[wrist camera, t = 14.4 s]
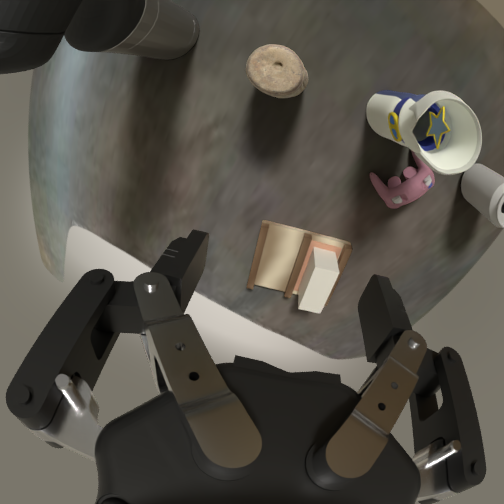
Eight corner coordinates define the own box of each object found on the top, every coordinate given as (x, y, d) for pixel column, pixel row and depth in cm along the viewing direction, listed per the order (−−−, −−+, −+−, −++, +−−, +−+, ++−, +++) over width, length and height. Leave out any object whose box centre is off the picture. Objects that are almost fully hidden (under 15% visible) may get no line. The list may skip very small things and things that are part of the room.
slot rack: (248, 279, 54) (246, 287, 52) (262, 219, 47) (261, 226, 45) (325, 297, 54) (326, 306, 52) (350, 242, 47) (352, 249, 45)
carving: (265, 49, 33) (254, 32, 23) (314, 68, 33) (321, 58, 23) (248, 85, 36) (232, 82, 26) (296, 104, 37) (298, 108, 27)
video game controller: (374, 189, 43) (393, 219, 39) (364, 172, 40) (385, 203, 36) (420, 160, 39) (443, 188, 35) (414, 141, 36) (439, 169, 32)
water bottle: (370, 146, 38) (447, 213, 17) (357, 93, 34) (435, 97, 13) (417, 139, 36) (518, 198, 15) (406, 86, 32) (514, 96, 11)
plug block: (313, 246, 47) (315, 266, 42) (335, 252, 47) (339, 272, 42) (298, 286, 52) (298, 308, 47) (318, 291, 52) (320, 313, 47)
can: (471, 153, 35) (511, 176, 25) (493, 176, 35) (532, 203, 25) (451, 188, 39) (487, 218, 29) (475, 208, 39) (509, 240, 29)
